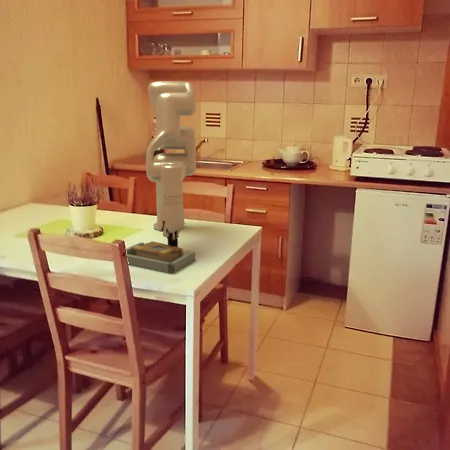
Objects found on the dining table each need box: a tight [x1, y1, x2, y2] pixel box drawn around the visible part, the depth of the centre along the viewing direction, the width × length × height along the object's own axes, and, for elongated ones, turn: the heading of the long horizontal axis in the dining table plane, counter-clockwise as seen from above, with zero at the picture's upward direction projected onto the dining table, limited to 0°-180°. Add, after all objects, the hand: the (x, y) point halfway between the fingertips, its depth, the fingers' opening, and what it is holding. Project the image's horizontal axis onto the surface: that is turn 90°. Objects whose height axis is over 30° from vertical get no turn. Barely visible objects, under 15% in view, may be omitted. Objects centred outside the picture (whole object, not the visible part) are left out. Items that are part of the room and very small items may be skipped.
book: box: [133, 240, 184, 263], centre depth 170 cm, size 15×11×5 cm
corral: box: [125, 241, 196, 275], centre depth 166 cm, size 14×23×3 cm, turn 63°
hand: (173, 249), depth 175 cm, fingers closed
